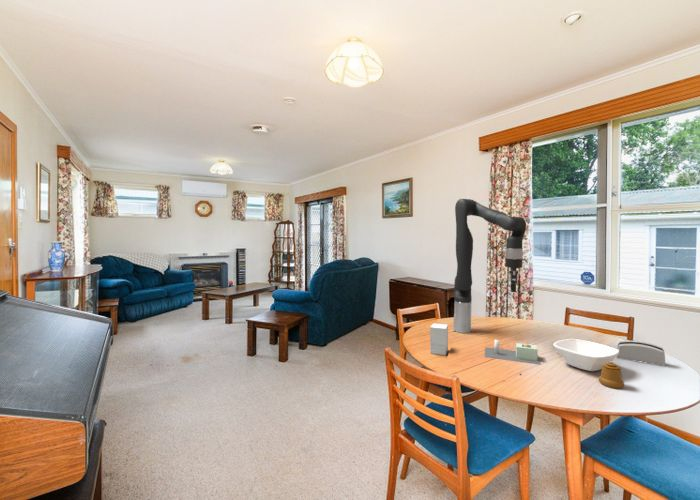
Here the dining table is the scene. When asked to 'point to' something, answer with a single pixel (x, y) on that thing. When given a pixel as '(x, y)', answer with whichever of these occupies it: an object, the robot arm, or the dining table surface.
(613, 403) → the dining table surface
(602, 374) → the ornamental finial
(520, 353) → the collar
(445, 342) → the supplement box
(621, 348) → the grey curved slab
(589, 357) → the bowl
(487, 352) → the board
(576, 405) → the dining table surface
